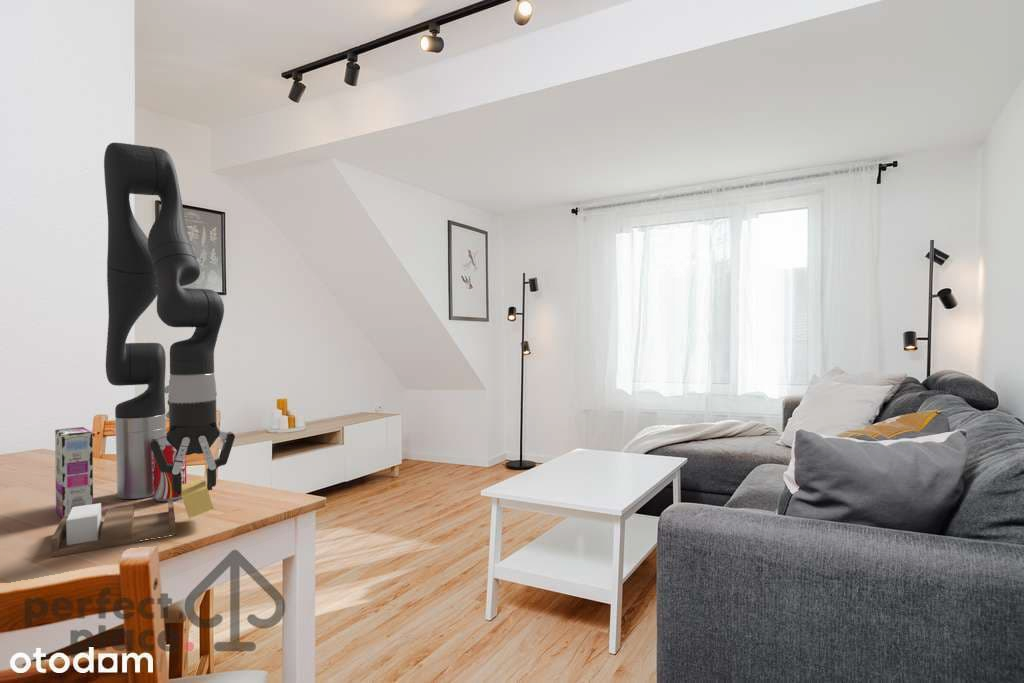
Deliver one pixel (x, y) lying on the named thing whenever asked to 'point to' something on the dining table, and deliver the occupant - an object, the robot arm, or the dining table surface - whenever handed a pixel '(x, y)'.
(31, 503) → the dining table surface
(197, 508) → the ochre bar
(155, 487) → the soda can
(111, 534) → the slot rack
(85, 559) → the dining table surface
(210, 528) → the dining table surface
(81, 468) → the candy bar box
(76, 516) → the white bar
